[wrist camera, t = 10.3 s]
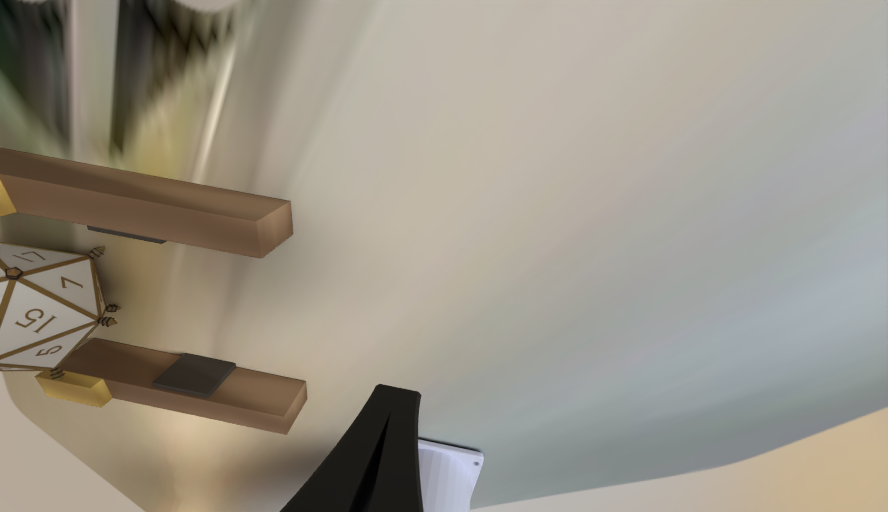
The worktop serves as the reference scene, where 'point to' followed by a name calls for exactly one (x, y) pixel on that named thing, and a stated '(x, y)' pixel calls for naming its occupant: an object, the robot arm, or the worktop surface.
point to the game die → (47, 306)
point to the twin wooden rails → (160, 220)
